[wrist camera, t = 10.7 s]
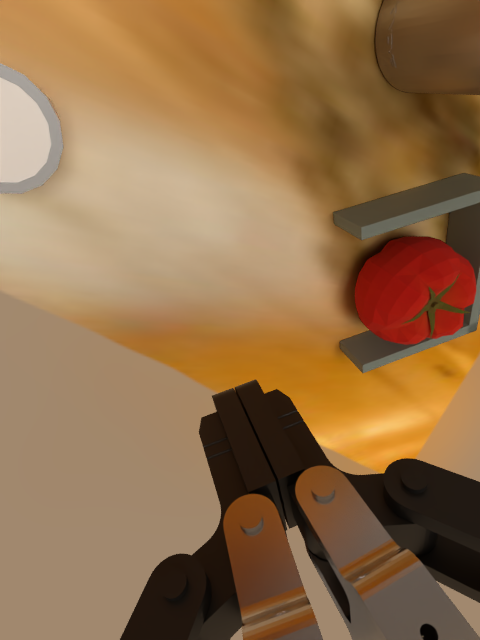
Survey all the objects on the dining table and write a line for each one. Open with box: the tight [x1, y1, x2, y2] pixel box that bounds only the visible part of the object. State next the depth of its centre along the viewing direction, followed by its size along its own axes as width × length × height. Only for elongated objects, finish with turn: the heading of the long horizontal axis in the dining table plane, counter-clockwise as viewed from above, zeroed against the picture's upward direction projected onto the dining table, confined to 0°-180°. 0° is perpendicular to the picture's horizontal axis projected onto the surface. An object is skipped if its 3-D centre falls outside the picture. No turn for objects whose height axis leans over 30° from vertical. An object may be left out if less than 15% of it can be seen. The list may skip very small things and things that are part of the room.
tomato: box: [355, 236, 476, 345], centre depth 41 cm, size 11×12×9 cm
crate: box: [333, 173, 480, 373], centre depth 43 cm, size 15×17×5 cm
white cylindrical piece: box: [0, 63, 63, 194], centre depth 25 cm, size 7×7×7 cm
